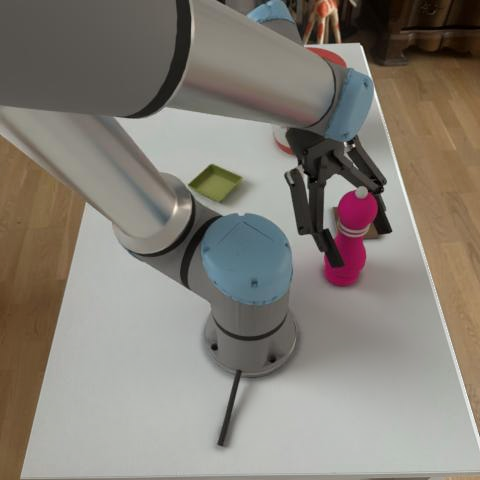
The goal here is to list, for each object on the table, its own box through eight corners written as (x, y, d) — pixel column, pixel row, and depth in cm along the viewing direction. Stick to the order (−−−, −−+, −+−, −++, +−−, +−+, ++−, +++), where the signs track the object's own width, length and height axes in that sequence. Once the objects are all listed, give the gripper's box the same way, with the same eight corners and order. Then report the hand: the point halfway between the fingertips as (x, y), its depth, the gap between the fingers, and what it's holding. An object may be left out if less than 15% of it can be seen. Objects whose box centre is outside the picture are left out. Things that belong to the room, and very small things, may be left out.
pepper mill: (350, 254, 84) (373, 166, 67) (367, 282, 80) (397, 197, 63) (314, 264, 83) (329, 178, 66) (331, 293, 79) (351, 210, 62)
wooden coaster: (378, 238, 86) (379, 234, 85) (337, 239, 86) (337, 236, 85) (371, 209, 90) (372, 205, 89) (332, 210, 90) (332, 206, 89)
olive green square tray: (212, 170, 98) (211, 162, 96) (244, 184, 95) (243, 176, 93) (187, 193, 94) (186, 185, 93) (220, 208, 92) (219, 201, 90)
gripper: (257, 143, 59) (325, 285, 65) (375, 80, 66) (426, 213, 73) (235, 158, 66) (298, 285, 72) (344, 99, 73) (392, 219, 79)
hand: (362, 249), depth 72 cm, fingers open, 10 cm apart
